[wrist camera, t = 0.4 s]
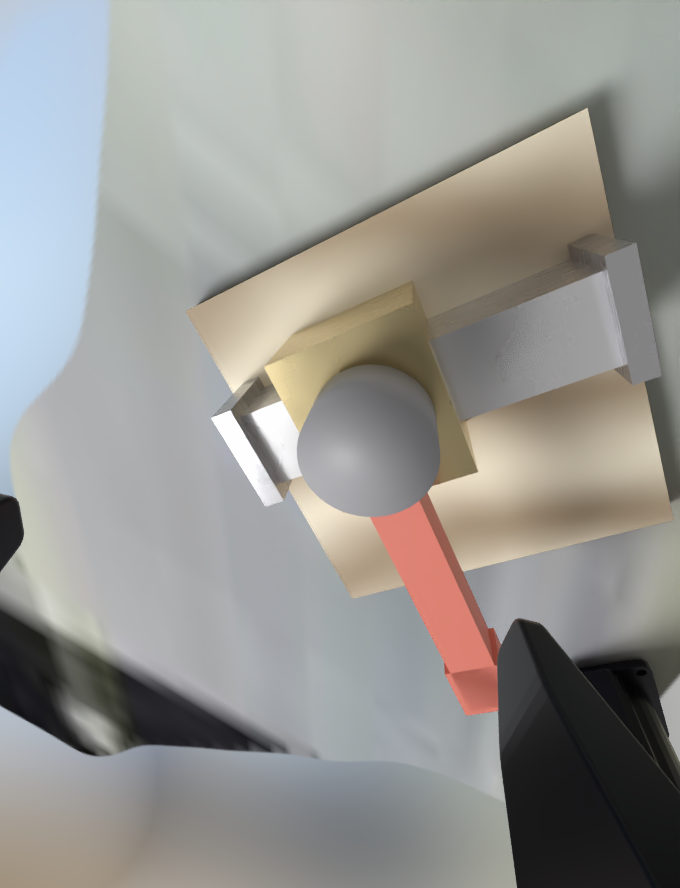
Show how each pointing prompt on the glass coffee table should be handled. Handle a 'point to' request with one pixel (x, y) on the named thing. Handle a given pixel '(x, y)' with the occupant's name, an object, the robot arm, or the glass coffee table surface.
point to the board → (440, 289)
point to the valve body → (454, 356)
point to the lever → (400, 508)
